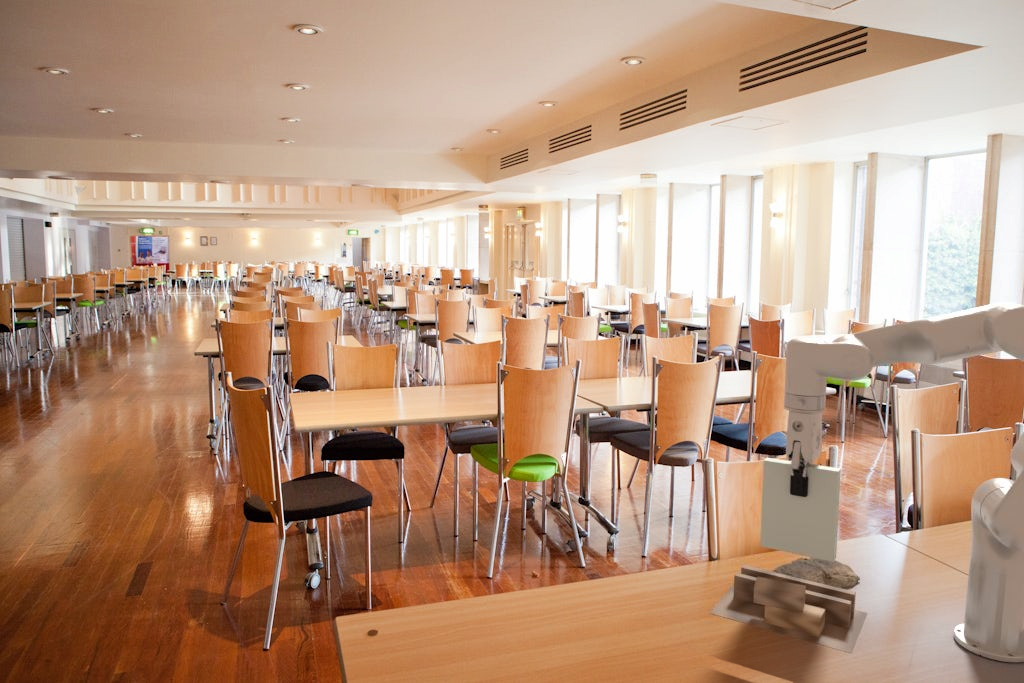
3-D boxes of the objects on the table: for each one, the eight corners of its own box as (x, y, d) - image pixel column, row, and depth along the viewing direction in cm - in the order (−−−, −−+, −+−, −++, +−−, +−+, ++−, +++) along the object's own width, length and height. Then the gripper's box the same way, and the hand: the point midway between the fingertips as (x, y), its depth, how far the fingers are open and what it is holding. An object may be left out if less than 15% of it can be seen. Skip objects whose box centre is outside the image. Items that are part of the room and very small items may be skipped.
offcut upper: (804, 602, 145) (805, 585, 145) (802, 612, 141) (803, 595, 141) (756, 593, 149) (757, 576, 149) (753, 602, 145) (754, 585, 145)
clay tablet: (795, 606, 155) (869, 590, 162) (795, 583, 155) (870, 568, 162) (751, 579, 168) (821, 565, 175) (751, 559, 168) (821, 545, 175)
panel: (836, 557, 147) (840, 468, 144) (833, 562, 145) (838, 471, 142) (763, 542, 154) (766, 457, 152) (760, 546, 152) (763, 460, 150)
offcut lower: (824, 626, 143) (825, 608, 143) (818, 637, 139) (819, 619, 139) (771, 611, 149) (772, 595, 149) (764, 622, 145) (765, 605, 144)
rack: (867, 620, 149) (869, 589, 148) (850, 661, 134) (853, 626, 133) (736, 586, 163) (738, 558, 162) (709, 620, 148) (710, 589, 148)
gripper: (816, 411, 137) (811, 508, 139) (833, 397, 150) (829, 486, 152) (774, 407, 141) (770, 501, 143) (794, 393, 154) (790, 479, 157)
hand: (800, 492), depth 148 cm, fingers closed on panel, 2 cm apart
